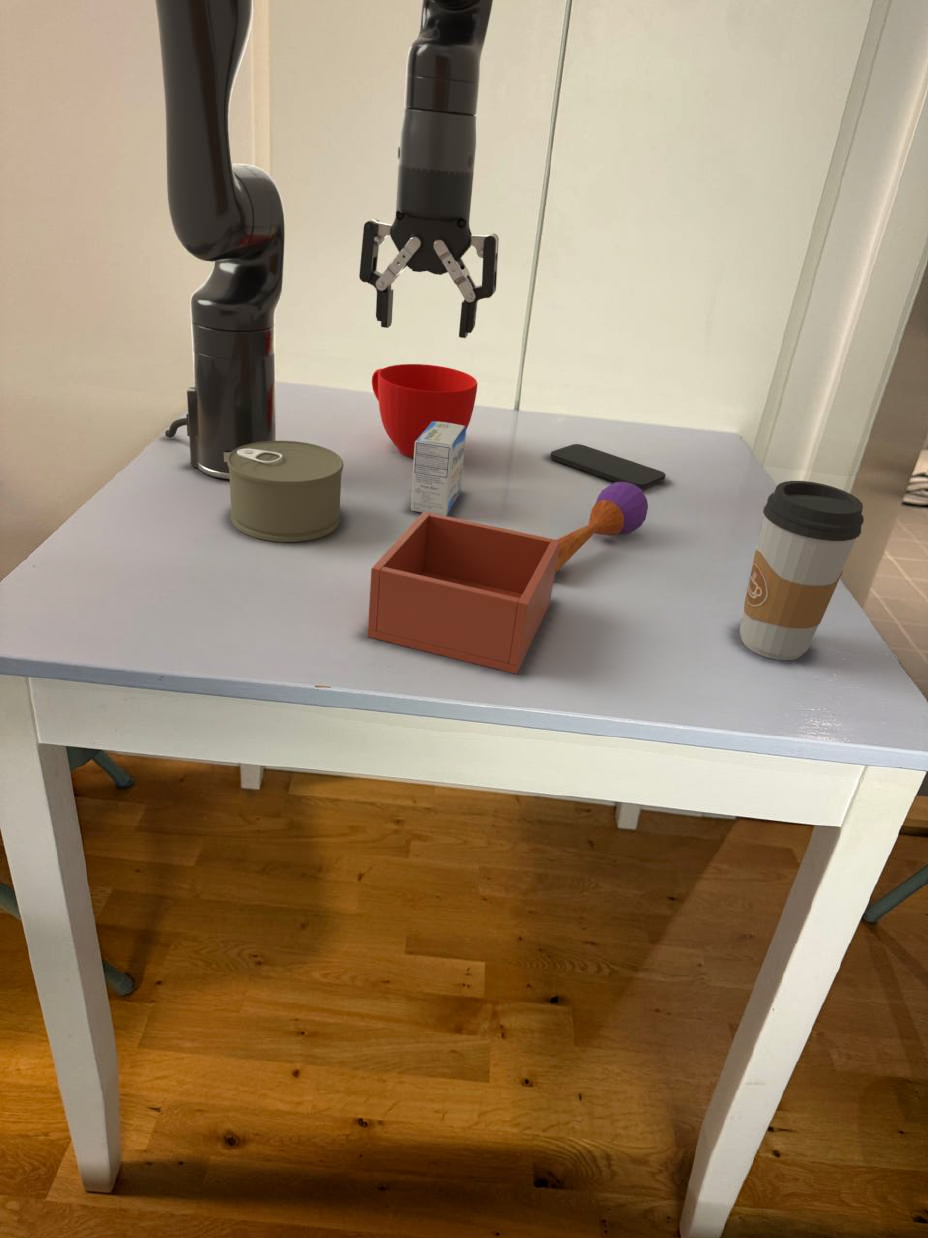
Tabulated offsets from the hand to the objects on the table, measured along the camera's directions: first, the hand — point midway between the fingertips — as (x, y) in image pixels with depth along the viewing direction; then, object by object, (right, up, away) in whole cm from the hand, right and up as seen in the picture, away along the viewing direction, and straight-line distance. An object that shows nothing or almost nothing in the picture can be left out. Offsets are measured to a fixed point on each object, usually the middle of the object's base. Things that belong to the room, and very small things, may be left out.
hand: (424, 331), depth 97 cm
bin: (+4, -31, -14) cm, 34 cm away
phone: (+24, -11, +25) cm, 36 cm away
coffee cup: (+33, -34, -12) cm, 49 cm away
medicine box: (+1, -17, +10) cm, 20 cm away
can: (-15, -20, +1) cm, 25 cm away
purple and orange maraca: (+18, -24, +2) cm, 30 cm away
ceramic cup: (-3, -8, +26) cm, 27 cm away
